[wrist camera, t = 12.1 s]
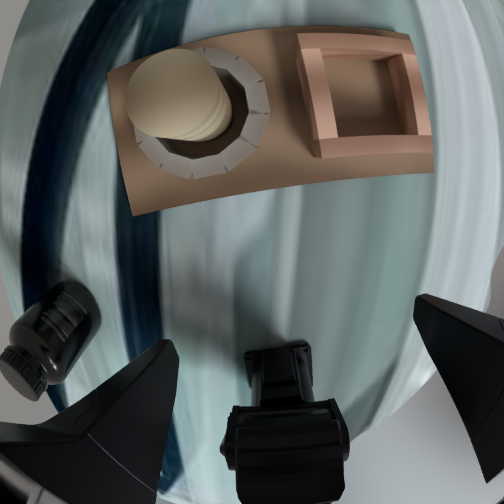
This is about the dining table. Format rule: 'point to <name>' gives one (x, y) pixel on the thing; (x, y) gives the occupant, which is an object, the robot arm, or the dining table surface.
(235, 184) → the socket board
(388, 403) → the dining table surface
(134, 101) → the round peg
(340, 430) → the robot arm
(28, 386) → the supplement bottle
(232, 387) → the dining table surface
